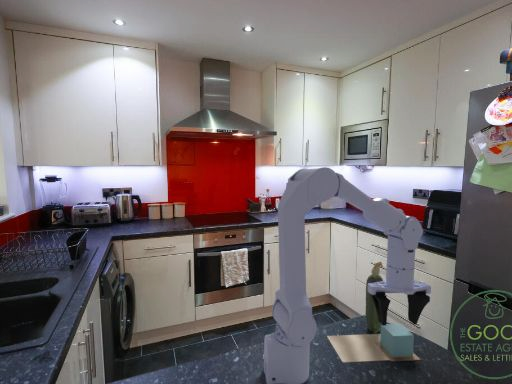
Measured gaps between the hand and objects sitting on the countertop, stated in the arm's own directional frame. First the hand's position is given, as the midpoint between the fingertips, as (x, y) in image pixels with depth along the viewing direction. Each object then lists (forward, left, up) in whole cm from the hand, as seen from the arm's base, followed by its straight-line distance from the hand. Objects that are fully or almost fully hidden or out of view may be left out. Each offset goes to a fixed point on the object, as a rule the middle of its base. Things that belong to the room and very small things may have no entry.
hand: (397, 322), depth 63 cm
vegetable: (0, +10, -8) cm, 13 cm away
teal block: (0, 0, -7) cm, 7 cm away
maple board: (-5, +2, -8) cm, 10 cm away
